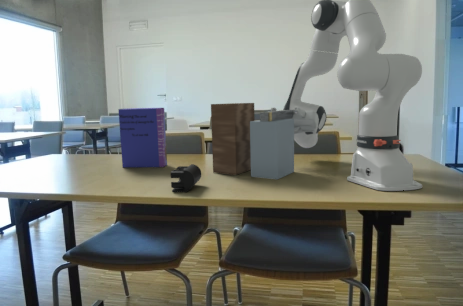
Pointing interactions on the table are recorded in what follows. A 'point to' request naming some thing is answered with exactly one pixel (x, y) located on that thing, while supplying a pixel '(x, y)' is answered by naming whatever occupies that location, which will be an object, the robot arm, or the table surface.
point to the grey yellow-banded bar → (276, 115)
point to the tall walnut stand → (231, 137)
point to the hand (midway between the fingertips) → (284, 109)
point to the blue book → (143, 137)
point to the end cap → (185, 177)
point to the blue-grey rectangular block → (272, 148)
